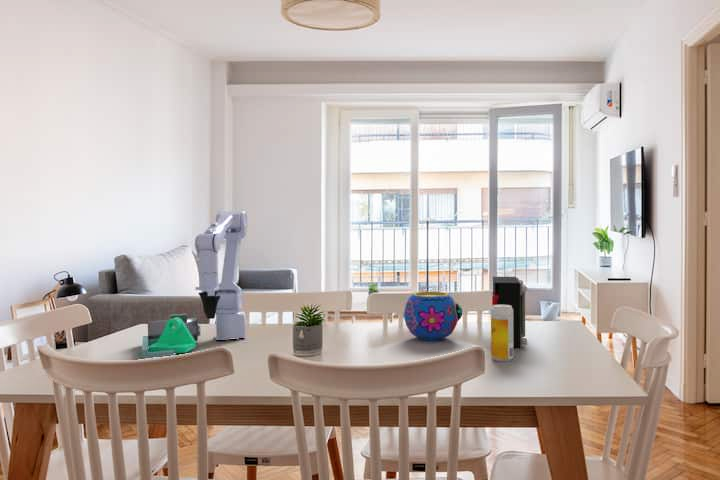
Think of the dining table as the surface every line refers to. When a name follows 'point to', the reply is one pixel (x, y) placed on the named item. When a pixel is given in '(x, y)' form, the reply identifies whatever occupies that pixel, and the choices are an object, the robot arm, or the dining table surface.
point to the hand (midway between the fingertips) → (209, 316)
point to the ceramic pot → (431, 315)
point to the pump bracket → (146, 354)
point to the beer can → (502, 332)
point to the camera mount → (174, 338)
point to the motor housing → (158, 326)
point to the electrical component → (512, 304)
